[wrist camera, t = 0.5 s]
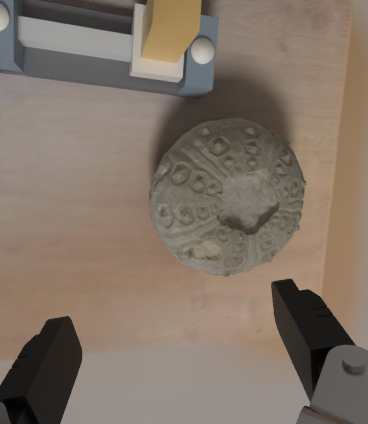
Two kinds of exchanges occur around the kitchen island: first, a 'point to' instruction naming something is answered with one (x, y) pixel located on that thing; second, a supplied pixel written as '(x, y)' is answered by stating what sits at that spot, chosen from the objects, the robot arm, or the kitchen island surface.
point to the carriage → (163, 37)
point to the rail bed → (81, 63)
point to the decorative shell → (227, 196)
